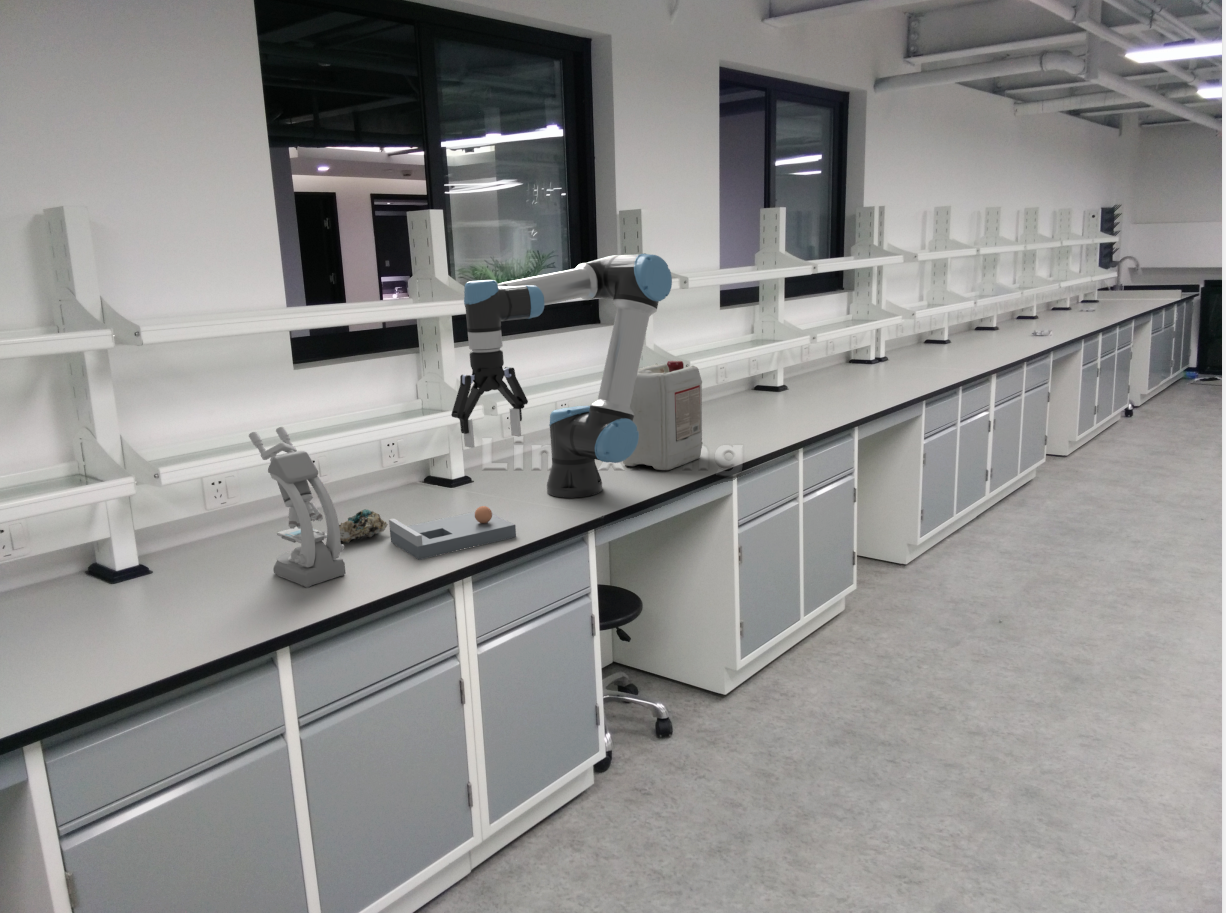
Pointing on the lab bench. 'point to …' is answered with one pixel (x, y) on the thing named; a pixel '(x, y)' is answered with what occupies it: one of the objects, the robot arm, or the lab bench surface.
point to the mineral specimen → (361, 526)
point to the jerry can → (667, 415)
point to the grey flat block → (448, 534)
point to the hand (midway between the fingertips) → (493, 441)
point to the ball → (483, 514)
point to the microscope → (303, 515)
